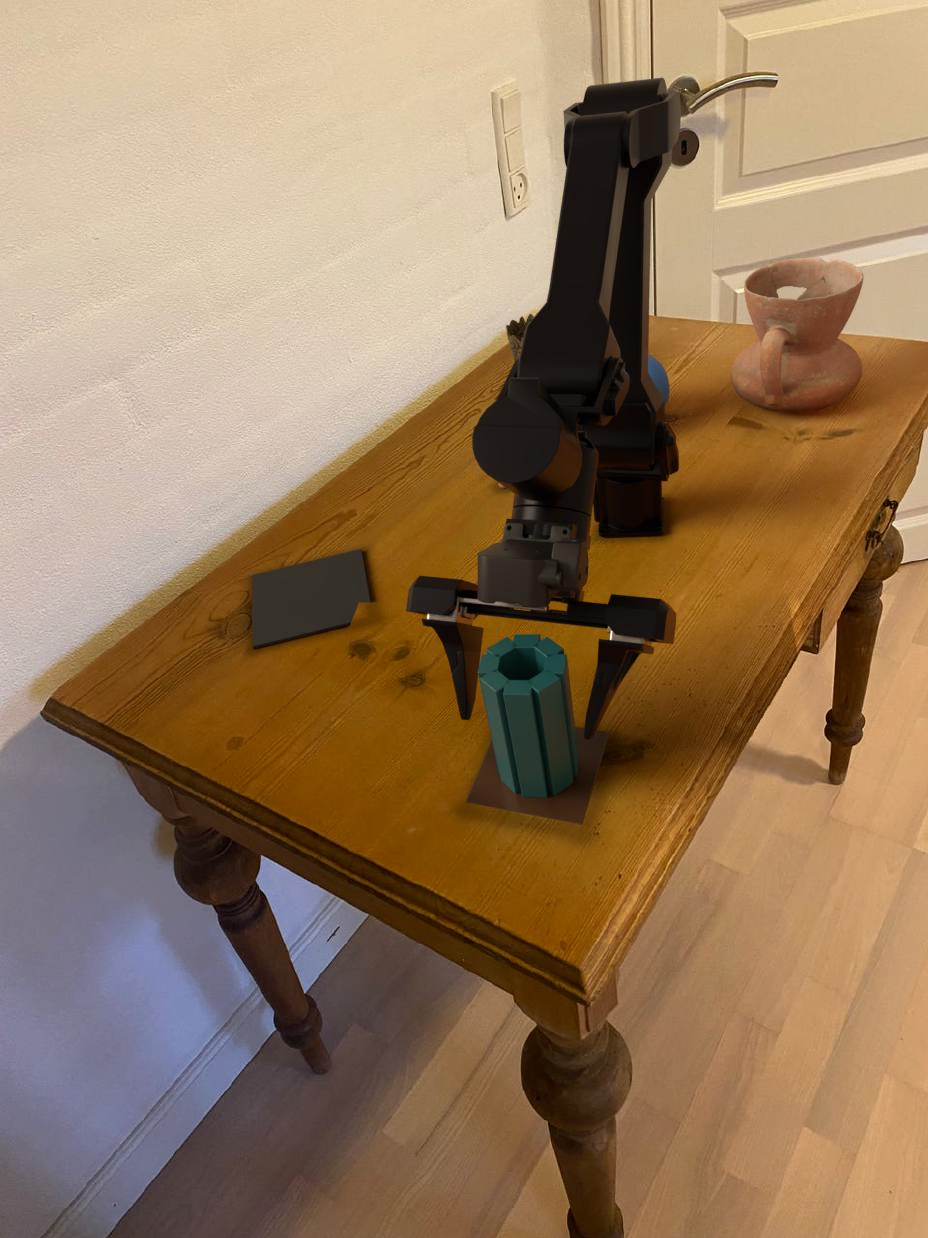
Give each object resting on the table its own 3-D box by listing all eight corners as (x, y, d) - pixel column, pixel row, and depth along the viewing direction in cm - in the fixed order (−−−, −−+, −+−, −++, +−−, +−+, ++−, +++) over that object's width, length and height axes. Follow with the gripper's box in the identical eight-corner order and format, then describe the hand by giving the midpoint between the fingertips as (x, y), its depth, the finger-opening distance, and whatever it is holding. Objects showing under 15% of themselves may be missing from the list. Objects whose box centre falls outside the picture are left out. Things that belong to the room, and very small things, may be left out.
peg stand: (503, 723, 74) (493, 672, 70) (610, 740, 70) (606, 687, 67) (467, 810, 68) (453, 759, 64) (582, 833, 64) (576, 780, 60)
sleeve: (580, 737, 70) (569, 633, 63) (575, 799, 65) (561, 695, 58) (505, 736, 71) (486, 634, 64) (495, 796, 67) (472, 694, 60)
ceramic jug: (764, 356, 115) (771, 244, 106) (880, 373, 107) (898, 253, 98) (699, 421, 105) (701, 304, 96) (822, 445, 97) (836, 319, 88)
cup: (570, 389, 116) (564, 331, 111) (514, 397, 117) (506, 339, 112) (566, 365, 122) (560, 308, 117) (512, 372, 123) (505, 316, 118)
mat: (362, 551, 96) (361, 548, 96) (374, 619, 87) (373, 616, 87) (253, 577, 95) (252, 575, 95) (253, 649, 86) (252, 646, 86)
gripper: (387, 483, 60) (358, 713, 60) (667, 499, 53) (636, 758, 53) (448, 513, 70) (423, 709, 70) (688, 530, 64) (662, 747, 63)
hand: (525, 729), depth 64 cm, fingers open, 9 cm apart
